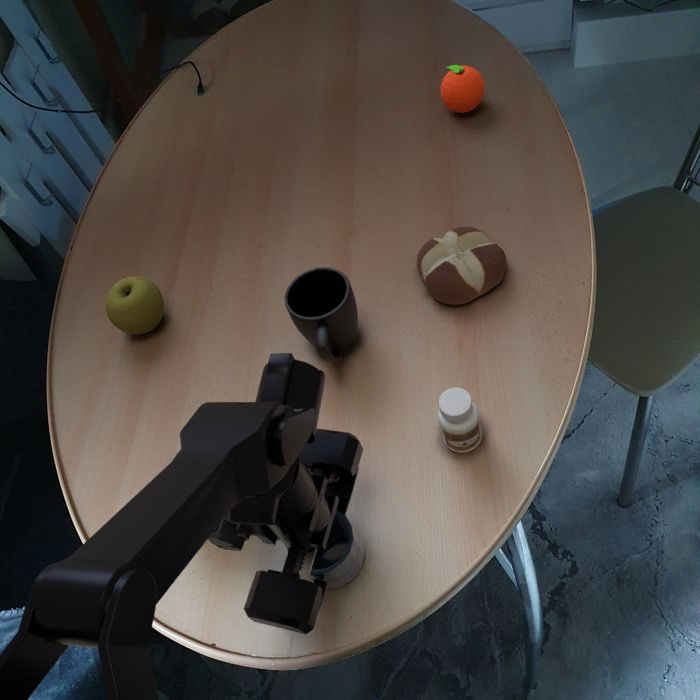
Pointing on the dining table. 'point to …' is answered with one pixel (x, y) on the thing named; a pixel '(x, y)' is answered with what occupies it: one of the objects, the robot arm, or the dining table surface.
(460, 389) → the pill bottle
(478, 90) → the clementine
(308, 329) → the mug
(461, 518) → the dining table surface
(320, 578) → the blue cup
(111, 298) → the apple
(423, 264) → the bread
